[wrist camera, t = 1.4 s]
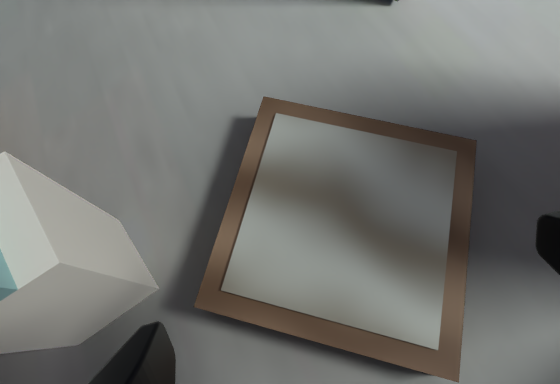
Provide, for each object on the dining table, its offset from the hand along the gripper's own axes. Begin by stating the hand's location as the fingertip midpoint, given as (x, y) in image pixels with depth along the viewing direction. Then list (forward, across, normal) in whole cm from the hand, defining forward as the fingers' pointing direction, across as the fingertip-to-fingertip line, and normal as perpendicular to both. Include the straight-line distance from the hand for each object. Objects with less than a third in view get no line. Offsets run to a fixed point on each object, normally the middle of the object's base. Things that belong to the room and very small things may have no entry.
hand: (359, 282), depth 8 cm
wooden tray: (+13, -3, +6) cm, 15 cm away
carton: (+14, +13, +5) cm, 19 cm away
